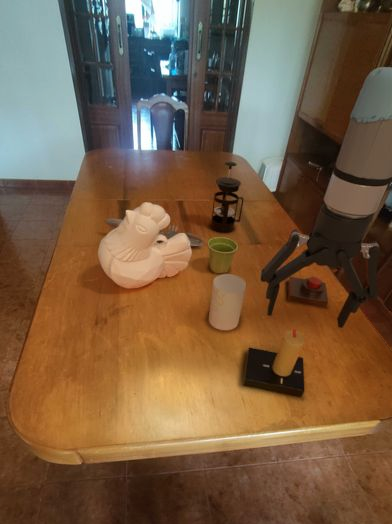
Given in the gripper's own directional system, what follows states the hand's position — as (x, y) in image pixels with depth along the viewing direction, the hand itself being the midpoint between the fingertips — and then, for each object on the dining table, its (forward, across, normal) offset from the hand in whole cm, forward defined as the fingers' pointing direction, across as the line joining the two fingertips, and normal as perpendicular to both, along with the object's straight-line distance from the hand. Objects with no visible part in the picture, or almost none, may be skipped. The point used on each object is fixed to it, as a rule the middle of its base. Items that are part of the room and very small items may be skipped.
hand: (304, 317), depth 62 cm
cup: (+17, +16, -15) cm, 28 cm away
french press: (+17, +24, -70) cm, 76 cm away
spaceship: (+17, +46, -50) cm, 70 cm away
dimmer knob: (+15, +1, +1) cm, 15 cm away
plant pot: (+17, +21, -40) cm, 48 cm away
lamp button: (+14, -8, -34) cm, 37 cm away
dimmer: (+17, +2, +1) cm, 17 cm away
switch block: (+17, -7, -34) cm, 39 cm away
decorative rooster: (+17, +41, -26) cm, 52 cm away
